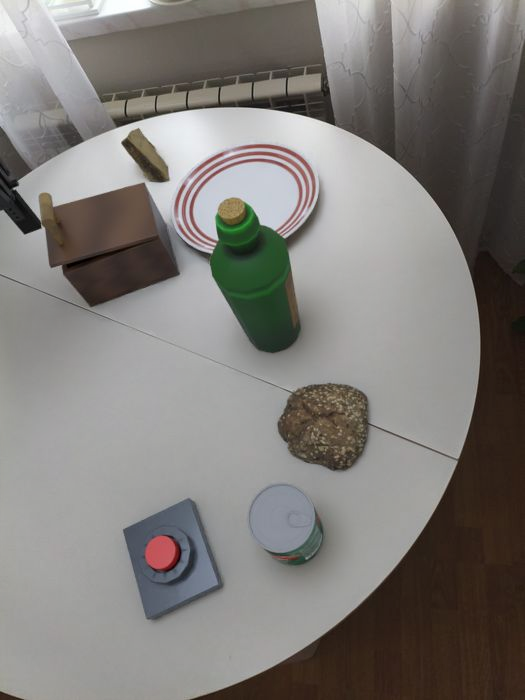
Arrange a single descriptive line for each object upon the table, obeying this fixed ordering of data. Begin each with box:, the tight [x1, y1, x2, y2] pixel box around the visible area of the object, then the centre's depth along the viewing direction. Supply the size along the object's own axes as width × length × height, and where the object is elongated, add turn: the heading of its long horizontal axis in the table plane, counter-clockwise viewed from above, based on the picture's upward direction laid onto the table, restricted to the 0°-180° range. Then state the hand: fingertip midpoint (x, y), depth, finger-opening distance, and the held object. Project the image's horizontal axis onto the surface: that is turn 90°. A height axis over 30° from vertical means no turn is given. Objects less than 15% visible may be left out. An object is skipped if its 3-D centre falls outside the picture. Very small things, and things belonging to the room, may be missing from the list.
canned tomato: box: [246, 482, 325, 567], centre depth 68 cm, size 8×8×11 cm
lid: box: [37, 182, 159, 269], centre depth 89 cm, size 18×13×7 cm
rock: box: [120, 127, 171, 183], centre depth 110 cm, size 11×9×10 cm
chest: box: [61, 186, 180, 308], centre depth 97 cm, size 17×13×10 cm
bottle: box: [208, 197, 301, 353], centre depth 76 cm, size 11×11×28 cm
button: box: [145, 536, 180, 571], centre depth 70 cm, size 4×4×2 cm
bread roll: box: [276, 382, 369, 471], centre depth 77 cm, size 13×12×5 cm
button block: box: [122, 497, 224, 621], centre depth 72 cm, size 12×10×4 cm
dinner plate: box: [170, 141, 320, 255], centre depth 101 cm, size 27×27×3 cm
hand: (32, 227), depth 81 cm, fingers closed
